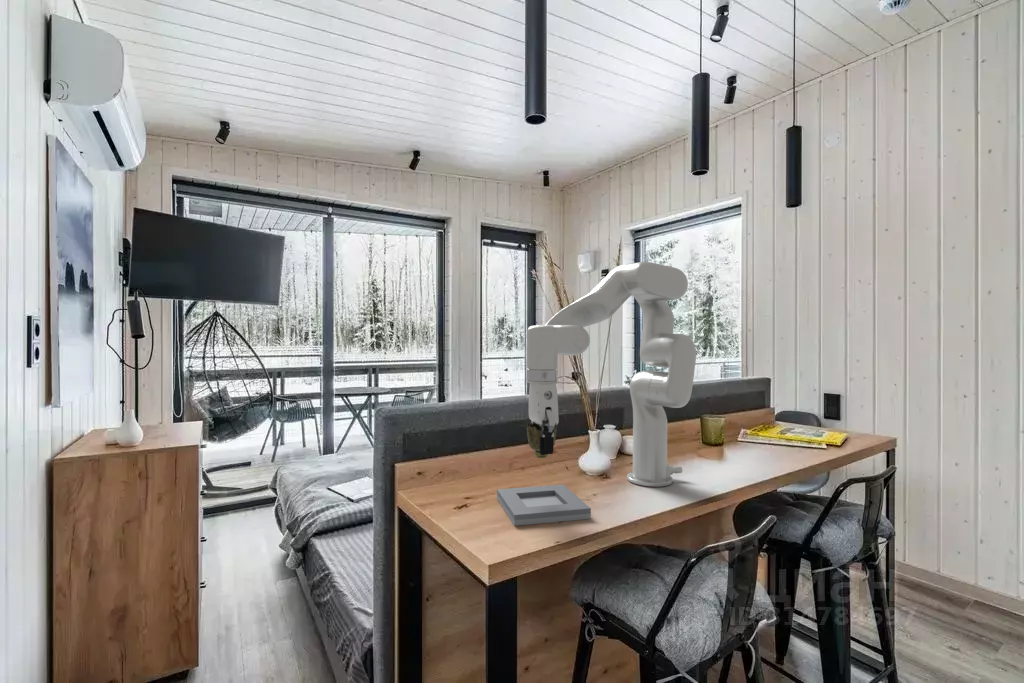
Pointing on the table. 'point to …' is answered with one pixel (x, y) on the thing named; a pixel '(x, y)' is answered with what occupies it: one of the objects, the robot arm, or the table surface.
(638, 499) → the table surface
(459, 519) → the table surface
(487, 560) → the table surface
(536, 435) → the cup
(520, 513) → the display stand
